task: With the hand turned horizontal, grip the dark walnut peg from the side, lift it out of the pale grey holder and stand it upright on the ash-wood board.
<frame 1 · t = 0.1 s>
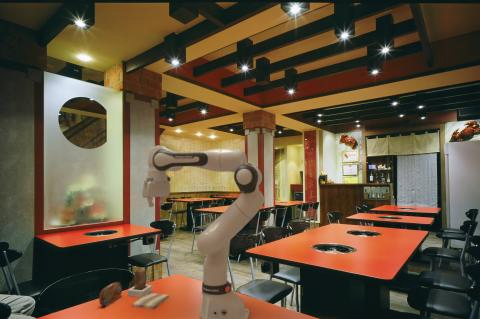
hand: (156, 206, 140), 48 cm above the table, tool pointing down, fingers open, 8 cm apart
peg: (140, 282, 153), in the holder
tin: (110, 302, 143), on the table
board: (151, 301, 142), on the table
holder: (140, 293, 153), on the table
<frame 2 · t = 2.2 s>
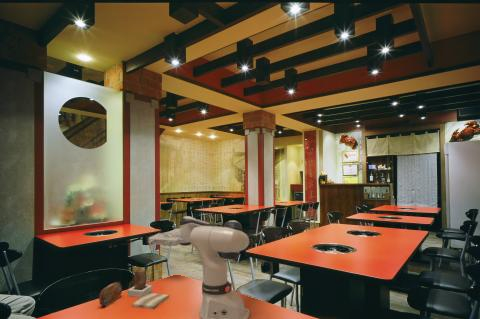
hand: (157, 244, 169), 23 cm above the table, tool horizontal, fingers open, 8 cm apart
nothing on the table moved.
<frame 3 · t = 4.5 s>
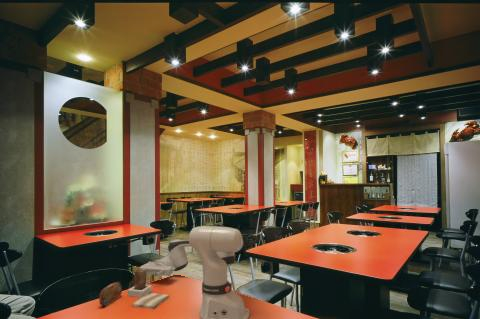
hand: (148, 274, 162), 7 cm above the table, tool horizontal, fingers open, 8 cm apart
nothing on the table moved.
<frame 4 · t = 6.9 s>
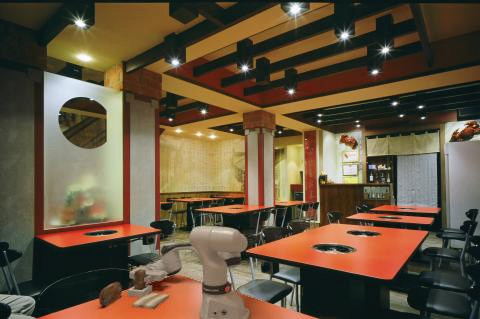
hand: (139, 279, 153), 8 cm above the table, tool horizontal, fingers closed on peg, 4 cm apart
peg: (140, 282, 153), in the holder, touching gripper
everything else where it was.
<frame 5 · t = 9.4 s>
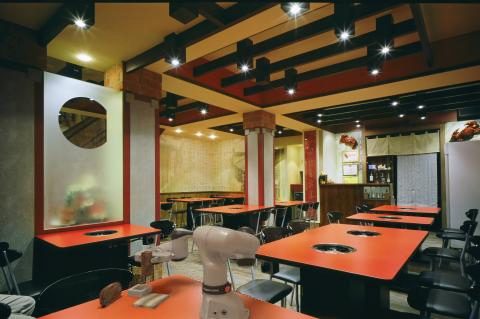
hand: (145, 261, 146), 19 cm above the table, tool horizontal, fingers closed on peg, 4 cm apart
peg: (146, 263, 147), point 18 cm above the table, touching gripper
everything else where it was.
when the fingers open (10 cm above the table, at t = 12.0 s): peg drops 1 cm, resting on board.
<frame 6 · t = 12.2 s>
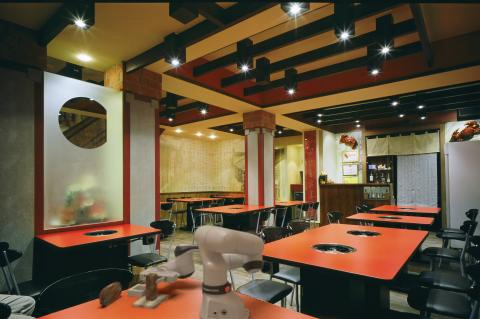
hand: (150, 281, 142), 10 cm above the table, tool horizontal, fingers open, 6 cm apart
peg: (151, 286, 143), on the board, point 7 cm above the table
everything else where it was.
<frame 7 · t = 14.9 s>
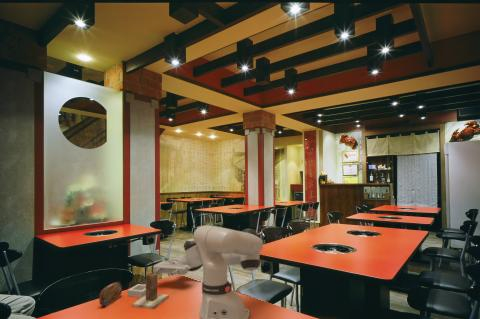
hand: (164, 273, 155), 10 cm above the table, tool horizontal, fingers open, 8 cm apart
nothing on the table moved.
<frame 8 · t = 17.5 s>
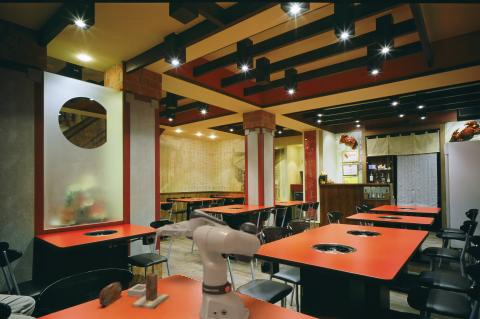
hand: (166, 234, 163), 30 cm above the table, tool horizontal, fingers open, 8 cm apart
nothing on the table moved.
at the end: peg inside the target area on the board (0.1 cm from its centre), point 7.2 cm above the board's base; peg tilted 0°; the gripper is holding nothing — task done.
